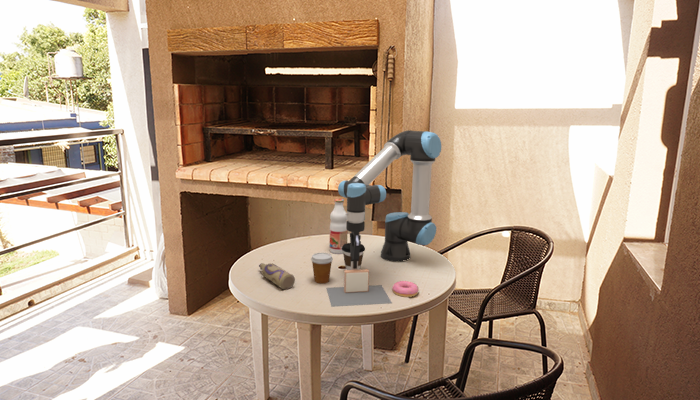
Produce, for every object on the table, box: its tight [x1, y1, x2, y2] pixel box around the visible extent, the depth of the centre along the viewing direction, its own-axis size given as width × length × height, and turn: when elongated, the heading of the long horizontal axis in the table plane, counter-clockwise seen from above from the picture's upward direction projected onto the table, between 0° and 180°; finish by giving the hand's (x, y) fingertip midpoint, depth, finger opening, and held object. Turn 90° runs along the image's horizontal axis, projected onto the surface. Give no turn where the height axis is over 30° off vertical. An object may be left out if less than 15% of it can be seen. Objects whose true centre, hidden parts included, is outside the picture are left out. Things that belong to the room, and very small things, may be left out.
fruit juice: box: [329, 198, 349, 255], centre depth 235 cm, size 9×9×28 cm
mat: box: [325, 284, 393, 308], centre depth 183 cm, size 24×18×1 cm
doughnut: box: [391, 280, 420, 298], centre depth 187 cm, size 11×11×4 cm
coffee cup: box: [342, 242, 366, 270], centre depth 210 cm, size 11×11×12 cm
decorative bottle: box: [258, 262, 296, 290], centre depth 198 cm, size 26×8×7 cm, turn 37°
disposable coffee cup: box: [310, 252, 334, 284], centre depth 196 cm, size 10×10×12 cm
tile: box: [343, 268, 370, 293], centre depth 186 cm, size 10×2×9 cm, turn 100°
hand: (354, 274), depth 190 cm, fingers closed
